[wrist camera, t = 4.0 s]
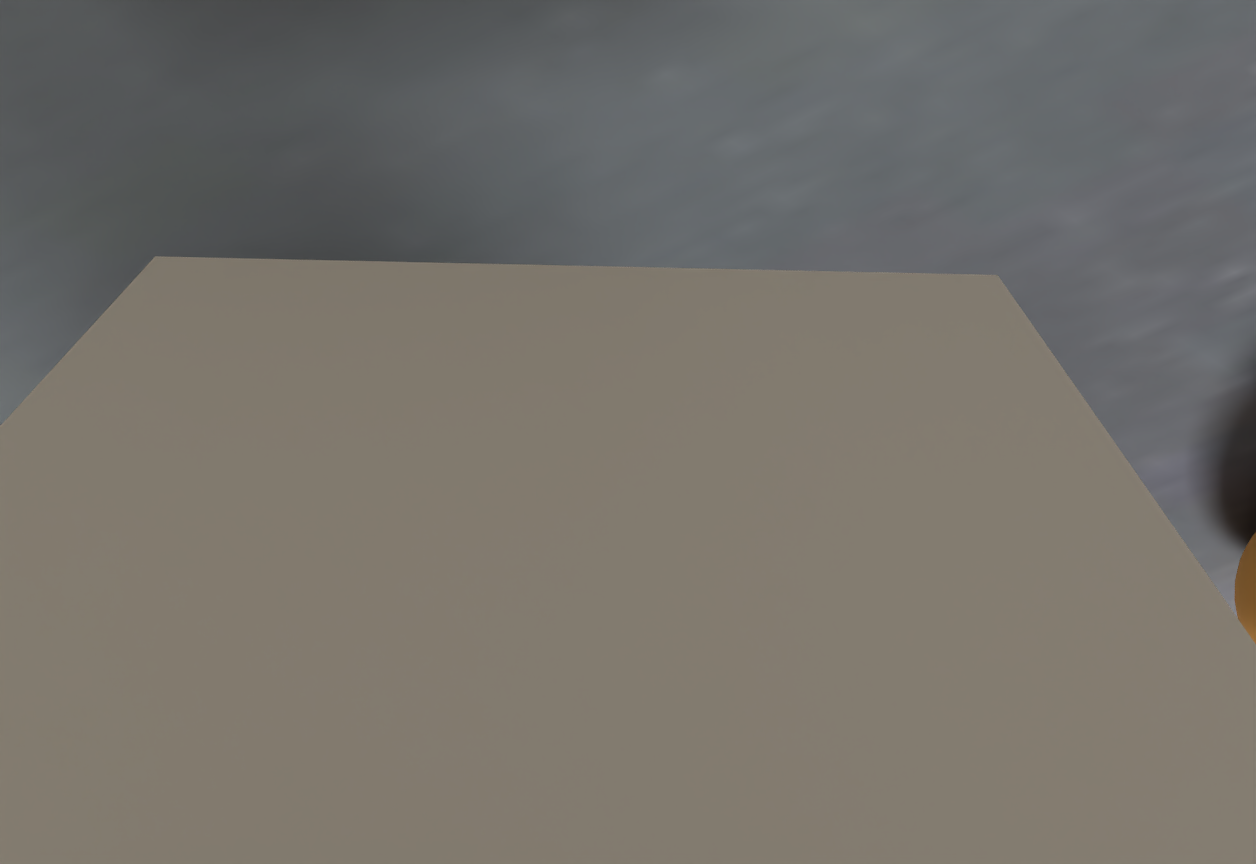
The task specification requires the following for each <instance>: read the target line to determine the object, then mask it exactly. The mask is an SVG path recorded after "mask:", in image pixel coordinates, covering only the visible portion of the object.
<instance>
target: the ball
mask: <svg viewBox="0 0 1256 864" xmlns="http://www.w3.org/2000/svg"><path fill="white" fill-rule="evenodd" d="M1235 605H1236V611H1237V616H1238V620H1239V621H1240V622H1241V624H1242V625H1243V627H1244V628H1245V630H1246V631H1247V632H1248V634H1249V635H1250V637H1251V638H1252V640H1253V641H1254V642H1255V644H1256V532H1255V533H1254V535H1253V536H1252V538H1251V539H1250V541H1249V543H1248V544H1247V546H1246V548H1245V550H1244V552H1243V554H1242V557H1241V559H1240V562H1239V566H1238V570H1237V575H1236V579H1235Z"/></svg>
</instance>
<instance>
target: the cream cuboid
mask: <svg viewBox="0 0 1256 864" xmlns="http://www.w3.org/2000/svg"><path fill="white" fill-rule="evenodd" d="M0 864H1256V644H1255V642H1254V641H1253V640H1252V638H1251V637H1250V635H1249V634H1248V632H1247V631H1246V630H1245V628H1244V627H1243V625H1242V624H1241V622H1240V621H1239V620H1238V618H1237V617H1236V615H1235V614H1234V612H1233V611H1232V610H1231V608H1230V607H1229V605H1228V604H1227V602H1226V601H1225V600H1224V598H1223V597H1222V595H1221V594H1220V592H1219V591H1218V590H1217V588H1216V587H1215V585H1214V584H1213V582H1212V581H1211V580H1210V578H1209V577H1208V575H1207V574H1206V572H1205V571H1204V570H1203V568H1202V567H1201V565H1200V564H1199V562H1198V561H1197V560H1196V558H1195V557H1194V555H1193V554H1192V552H1191V551H1190V550H1189V548H1188V547H1187V545H1186V544H1185V542H1184V541H1183V540H1182V538H1181V537H1180V535H1179V534H1178V532H1177V531H1176V529H1175V528H1174V527H1173V525H1172V524H1171V522H1170V521H1169V519H1168V518H1167V517H1166V515H1165V514H1164V512H1163V511H1162V509H1161V508H1160V507H1159V505H1158V504H1157V502H1156V501H1155V499H1154V498H1153V497H1152V495H1151V494H1150V492H1149V491H1148V489H1147V488H1146V487H1145V485H1144V484H1143V482H1142V481H1141V479H1140V478H1139V477H1138V475H1137V474H1136V472H1135V471H1134V469H1133V468H1132V467H1131V465H1130V464H1129V462H1128V461H1127V459H1126V458H1125V457H1124V455H1123V454H1122V452H1121V451H1120V449H1119V448H1118V447H1117V445H1116V444H1115V442H1114V441H1113V439H1112V438H1111V437H1110V435H1109V434H1108V432H1107V431H1106V429H1105V428H1104V427H1103V425H1102V424H1101V422H1100V421H1099V419H1098V418H1097V417H1096V415H1095V414H1094V412H1093V411H1092V409H1091V408H1090V407H1089V405H1088V404H1087V402H1086V401H1085V399H1084V398H1083V397H1082V395H1081V394H1080V392H1079V391H1078V389H1077V388H1076V387H1075V385H1074V384H1073V382H1072V381H1071V379H1070V378H1069V377H1068V375H1067V374H1066V372H1065V371H1064V369H1063V368H1062V367H1061V365H1060V364H1059V362H1058V361H1057V359H1056V358H1055V357H1054V355H1053V354H1052V352H1051V351H1050V349H1049V348H1048V347H1047V345H1046V344H1045V342H1044V341H1043V339H1042V338H1041V337H1040V335H1039V334H1038V332H1037V331H1036V329H1035V328H1034V327H1033V325H1032V324H1031V322H1030V321H1029V319H1028V318H1027V317H1026V315H1025V314H1024V312H1023V311H1022V309H1021V308H1020V307H1019V305H1018V304H1017V302H1016V301H1015V299H1014V298H1013V297H1012V295H1011V294H1010V292H1009V291H1008V289H1007V288H1006V287H1005V285H1004V284H1003V282H1002V281H1001V279H1000V278H999V277H998V275H972V274H927V273H881V272H836V271H791V270H746V269H700V268H655V267H610V266H564V265H519V264H474V263H429V262H383V261H338V260H293V259H247V258H202V257H157V256H155V257H154V258H153V259H152V260H151V262H150V263H149V264H148V265H147V266H146V267H145V268H144V269H143V270H142V271H141V272H140V274H139V275H138V276H137V277H136V278H135V279H134V280H133V281H132V282H131V283H130V285H129V286H128V287H127V288H126V289H125V290H124V291H123V292H122V293H121V294H120V295H119V297H118V298H117V299H116V300H115V301H114V302H113V303H112V304H111V305H110V306H109V308H108V309H107V310H106V311H105V312H104V313H103V314H102V315H101V316H100V317H99V318H98V320H97V321H96V322H95V323H94V324H93V325H92V326H91V327H90V328H89V329H88V331H87V332H86V333H85V334H84V335H83V336H82V337H81V338H80V339H79V340H78V341H77V343H76V344H75V345H74V346H73V347H72V348H71V349H70V350H69V351H68V352H67V354H66V355H65V356H64V357H63V358H62V359H61V360H60V361H59V362H58V363H57V364H56V366H55V367H54V368H53V369H52V370H51V371H50V372H49V373H48V374H47V375H46V377H45V378H44V379H43V380H42V381H41V382H40V383H39V384H38V385H37V386H36V387H35V389H34V390H33V391H32V392H31V393H30V394H29V395H28V396H27V397H26V398H25V400H24V401H23V402H22V403H21V404H20V405H19V406H18V407H17V408H16V409H15V410H14V412H13V413H12V414H11V415H10V416H9V417H8V418H7V419H6V420H5V421H4V423H3V424H2V425H1V426H0Z"/></svg>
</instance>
